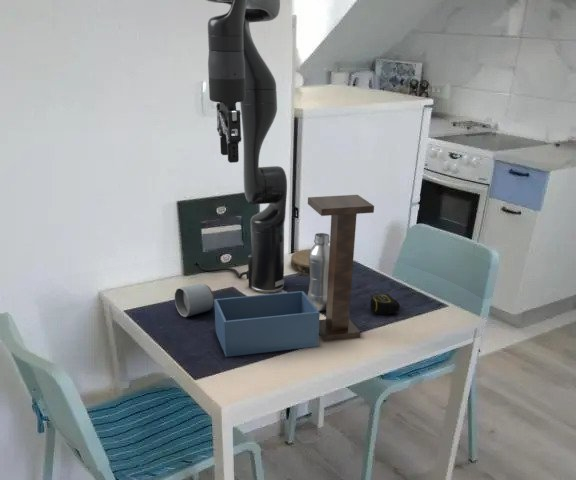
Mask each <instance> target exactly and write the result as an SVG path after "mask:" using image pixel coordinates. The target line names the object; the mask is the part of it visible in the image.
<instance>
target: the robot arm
mask: <svg viewBox="0 0 576 480" xmlns="http://www.w3.org/2000/svg"><path fill="white" fill-rule="evenodd" d="M205 1H206V2H210V3H217V4H226V5H228V6H230V7H229V9H228V11H227V12H226V13H224V14H220V15H214V16H212V17H210V18H209V19H208V21H207V44H208V45H207V46H208V58H207V70H208V71H207V72H208V73H207V75H208V93H209V94H208V95H209V100H210V102H213V103H216V105H215V107H216V130H217V132H218V137H219V140H220V141H219V142H220V143H219V144H220V155H222V156H227V162H228V163H231V164H232V163H238V162H239V155H240V154H239V153H240V152H239V145H240V142H242V141H243V143H242V144H243V191H244V196H245V200H246V201H247V203H248V204H249V205H266V204H268V205H267V207H265V208H264V209H263V210H261V211H260V212H258V213H256V214H253V216H251V218H250V254H248V256H247V270H246V271H243V272H240V273H239V272H238V271H237V269H235V268H230V267H220V268H206V267H204V266H203V268H201V267H200V266H199V265H198V267H199V268H200V269H201V270H202V271H204V272H210V273H211V272H223V271H227V272H233V273H234V274H235V276H236V278H237V279H242V277H243V276H245V275H246V277H245V278H246V280H248V281H247V283H248V288H249V289H251V290H252V291H254V292H258V293H262V294H275V293H279V292H281V291H283V290H284V288H285V275H284V274H285V223H286V214H287V198H288V197H287V195H288V178H287V174H286V170H285V169H284V168H283V167H282V166H279V165H275V166H273V165H271V166H260V165H259V163H260V155H261V149H262V146H263V144H264V142H265V139H266V137H267V136H268V133H269V131H270V129H271V127H272V125H273V123H274V122H275V119H276V116H277V112H278V95H277V93H278V92H277V82H276V78H275V77H274V74H273V72H272V71H271V70H270V68H269V66H268V65H267V63H266V61H264V59H263V57H262V55H261V54H260V52H259V50H258V48H257V47H256V43H254V40H253V36H252V33H251V27H250V23H262V22H270V21H273V20H276V19H277V17H278V16H279V14H280V9H281V0H205ZM237 103H239V105H240V106H239V107H240V109H237ZM241 126H242V127H241ZM241 128H242V129H241ZM242 139H243V140H242Z"/></svg>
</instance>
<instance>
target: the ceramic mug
mask: <svg viewBox="0 0 576 480" xmlns="http://www.w3.org/2000/svg"><path fill="white" fill-rule="evenodd" d="M214 299H215V295H214V293H213V290H212V288H211V287H210V286H209V285H208V284H206V283H204V284H203V283H197V284H191V285H186V286H179V287H177V288H176V289H175V292H174V303H175V307H176V310H177V312H178V313H179V315H180V316H181V317H183V318H189V317H192V316H195V315H198V314H203V313H207V312H208V311H210V310H212V309H213V307H214Z"/></svg>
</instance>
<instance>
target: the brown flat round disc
mask: <svg viewBox="0 0 576 480" xmlns="http://www.w3.org/2000/svg"><path fill="white" fill-rule="evenodd" d="M310 250H311V248H309V249H302V250H298V251H295V252H293V253H292V254H291V256H290V267H291V269H292V270H293V271H294V272H296V273H299V274H301V275H304V276H305V275H306V276H310V267H309V259H308V254H309V251H310Z"/></svg>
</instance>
